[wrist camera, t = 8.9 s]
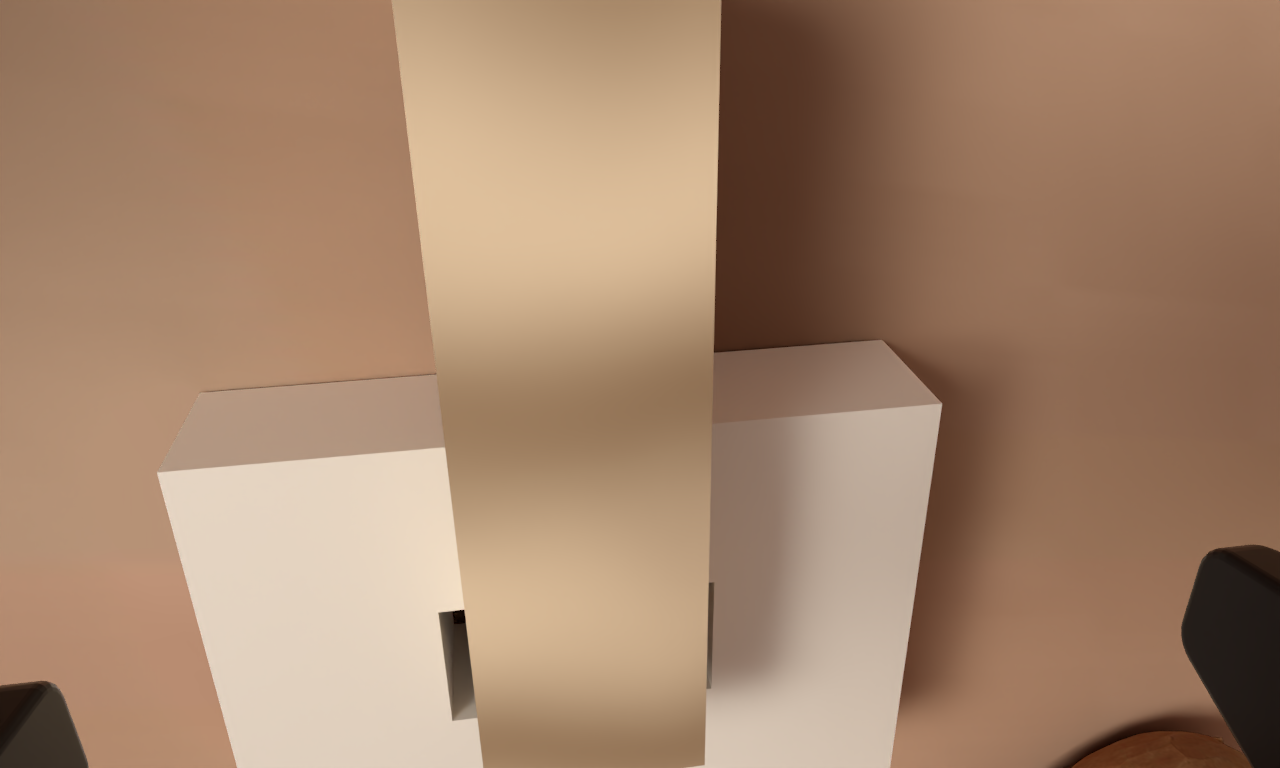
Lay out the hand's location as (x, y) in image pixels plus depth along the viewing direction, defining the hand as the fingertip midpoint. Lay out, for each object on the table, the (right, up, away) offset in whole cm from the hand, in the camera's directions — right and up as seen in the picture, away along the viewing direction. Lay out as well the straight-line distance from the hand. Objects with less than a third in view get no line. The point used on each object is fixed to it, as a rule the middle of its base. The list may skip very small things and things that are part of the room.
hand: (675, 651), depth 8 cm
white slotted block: (-2, -2, +15) cm, 15 cm away
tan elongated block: (-2, +4, +12) cm, 13 cm away
